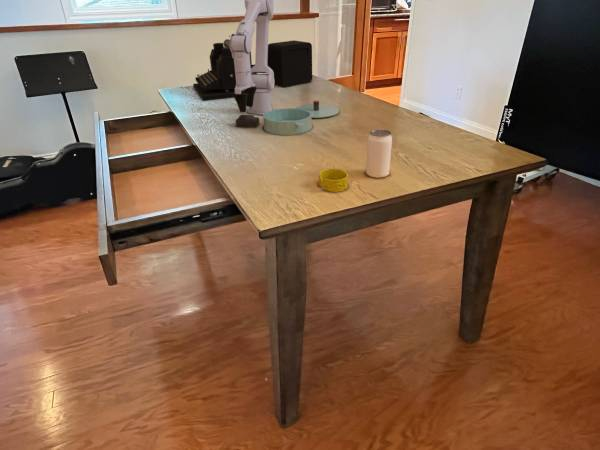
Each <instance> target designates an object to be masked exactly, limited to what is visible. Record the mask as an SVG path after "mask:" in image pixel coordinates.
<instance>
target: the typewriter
mask: <svg viewBox="0 0 600 450" xmlns="http://www.w3.org/2000/svg"><path fill="white" fill-rule="evenodd" d="M235 34H236V33H232V34H231V35H228V37H229V38H231V37H233V36H234V35H235ZM229 45H230V39H228V38H227V39H224V41H223V42H215V43H213V44H212V46H213V48H211V51H210V54H209V62H210V63H209V64H210V69H209V68H207V72H204V73H203V74H202V73H201V74H196V76H195V78H194V79H195V82H196V83H193V85H192V86H193V89H194V91H196V93H197V95H198V96H199V97H200V99H201V100H202V101H203V102H207V101H216V100H224V99H232V98H233V99H235V98H234V97H233V95H232V93H233V92H235V88H236V76H235V66H234V59H233V58H232V53H231V50H230V46H229ZM250 66H251V68H252V67H253V61H252V51H251V52H250Z"/></svg>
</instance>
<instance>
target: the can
mask: <svg viewBox="0 0 600 450" xmlns="http://www.w3.org/2000/svg"><path fill="white" fill-rule="evenodd" d="M392 146H393V137H392V132H391V131H390V130H388V129H379V128H378V129H373V130H370V131H369V135H368V138H367V150H366V162H365V163H366V165H365V166H366V168H365V173H366V175H367V176H369V177H370V178H373V179H382V178H386V177H388V176H389V174H390V169H391V157H392Z"/></svg>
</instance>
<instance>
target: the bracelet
mask: <svg viewBox="0 0 600 450" xmlns="http://www.w3.org/2000/svg"><path fill="white" fill-rule="evenodd" d="M348 182H349V174H348V173H347V172H346V171H345V170H342V169H339V168H326V169H323V170H320V172H319V173H318V187H323V190H324V191H326V192H332V193H337V192H338V193H339V192H342V191H345V190H347V189H348V187H349V185H348Z"/></svg>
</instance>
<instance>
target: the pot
mask: <svg viewBox="0 0 600 450" xmlns="http://www.w3.org/2000/svg"><path fill="white" fill-rule="evenodd" d="M262 119H263V130H264V131H265V132H267V133H268V134H272V135H279V136H291V135H292V136H293V135H300V134H305V133H307V132H309V131H310V130H312V126H313V118H312V114H311V112H309V111H307V110H304V109H297V107H286V108H285V107H284V108H276V109H275V108H274V110H272V111H268V112H266V113H265V114H264V115H262Z"/></svg>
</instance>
